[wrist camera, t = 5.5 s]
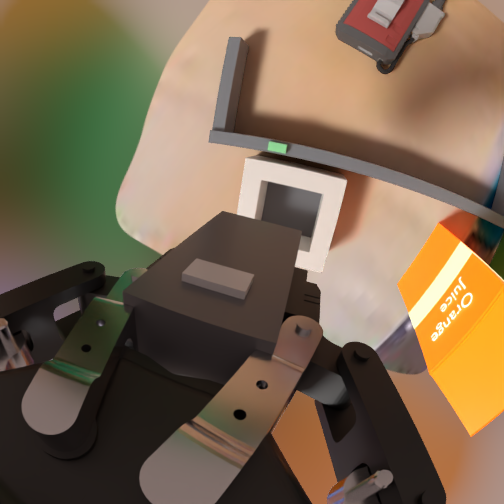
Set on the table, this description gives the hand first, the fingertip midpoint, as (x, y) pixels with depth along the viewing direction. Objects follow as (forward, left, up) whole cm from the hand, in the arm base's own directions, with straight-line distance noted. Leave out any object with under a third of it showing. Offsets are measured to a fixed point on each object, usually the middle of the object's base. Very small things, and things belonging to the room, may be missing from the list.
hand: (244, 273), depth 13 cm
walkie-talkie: (-8, -25, -18) cm, 32 cm away
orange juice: (-19, +3, -18) cm, 27 cm away
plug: (0, 0, -2) cm, 2 cm away
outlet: (0, +1, -18) cm, 18 cm away
